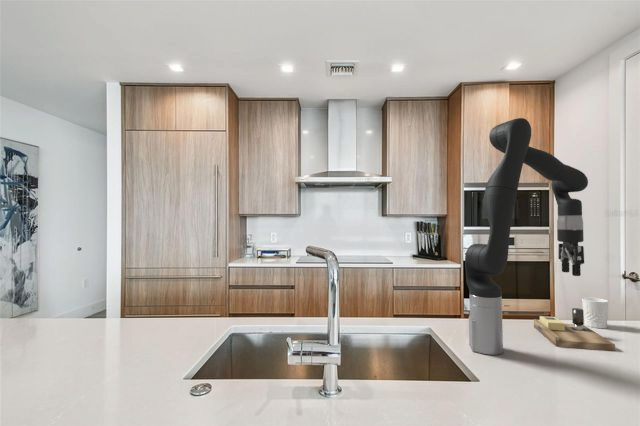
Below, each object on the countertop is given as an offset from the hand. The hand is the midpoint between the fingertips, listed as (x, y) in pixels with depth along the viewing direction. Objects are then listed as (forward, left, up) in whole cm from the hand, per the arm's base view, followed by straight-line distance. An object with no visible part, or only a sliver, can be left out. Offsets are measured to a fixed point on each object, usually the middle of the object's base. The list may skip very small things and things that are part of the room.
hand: (570, 274), depth 120 cm
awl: (+2, 0, -21) cm, 21 cm away
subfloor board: (-2, -4, -21) cm, 22 cm away
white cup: (+13, +13, -22) cm, 28 cm away
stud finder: (-6, 0, -19) cm, 20 cm away
